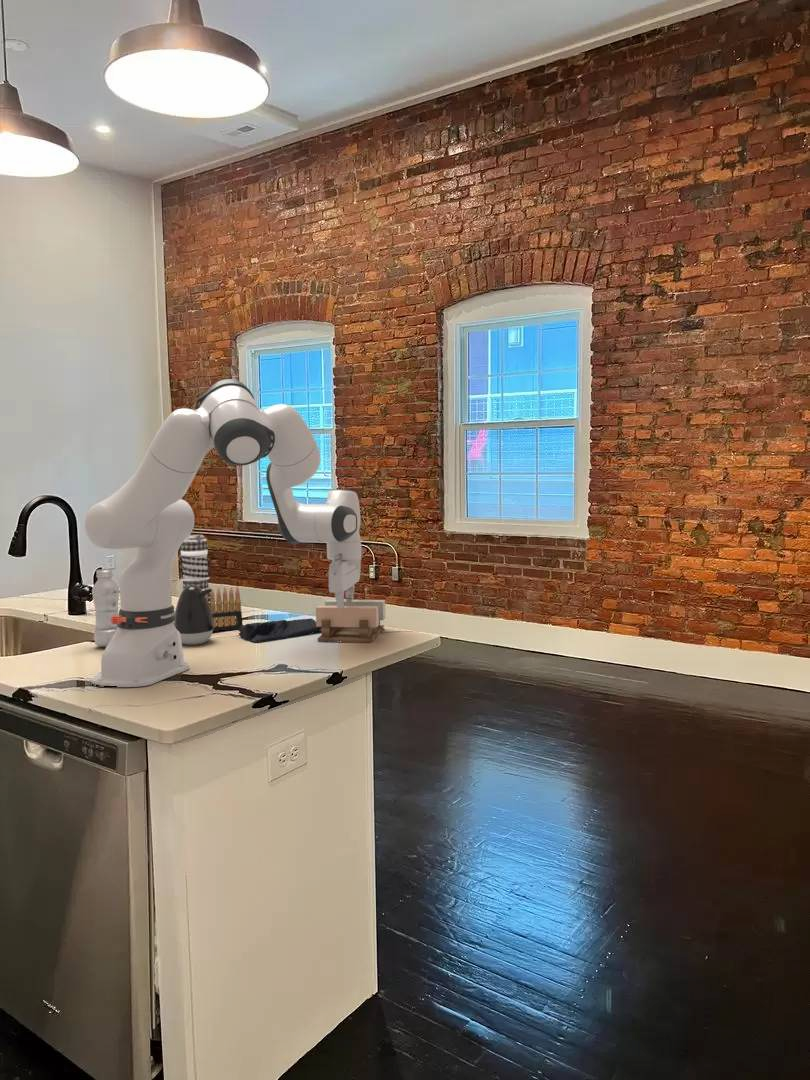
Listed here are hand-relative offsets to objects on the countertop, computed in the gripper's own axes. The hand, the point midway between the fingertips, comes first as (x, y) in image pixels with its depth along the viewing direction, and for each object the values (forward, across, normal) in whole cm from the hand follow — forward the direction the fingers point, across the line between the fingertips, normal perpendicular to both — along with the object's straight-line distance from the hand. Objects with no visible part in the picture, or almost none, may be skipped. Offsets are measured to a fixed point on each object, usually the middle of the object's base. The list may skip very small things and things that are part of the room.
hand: (345, 604), depth 207 cm
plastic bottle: (+10, -13, +60) cm, 62 cm away
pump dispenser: (+10, -7, +38) cm, 40 cm away
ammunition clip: (+10, +8, +37) cm, 39 cm away
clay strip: (+6, 0, -1) cm, 6 cm away
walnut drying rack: (+9, +4, -1) cm, 10 cm away
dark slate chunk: (+10, +5, +19) cm, 22 cm away
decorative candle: (+10, +27, +53) cm, 60 cm away
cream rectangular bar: (+6, +9, -1) cm, 10 cm away
